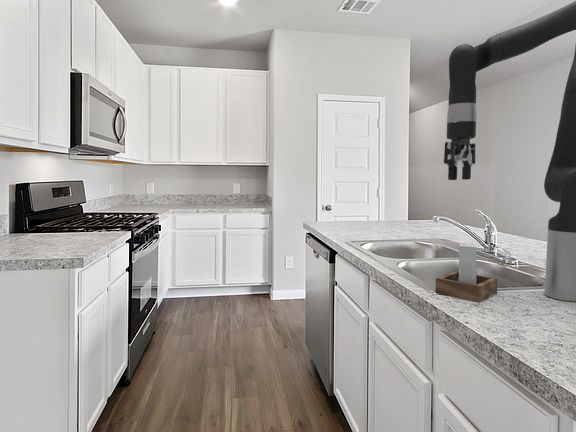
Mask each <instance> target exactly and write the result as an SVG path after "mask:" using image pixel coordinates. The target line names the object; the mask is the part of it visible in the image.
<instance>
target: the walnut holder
mask: <svg viewBox="0 0 576 432" xmlns="http://www.w3.org/2000/svg"><path fill="white" fill-rule="evenodd" d="M434 292H435V294H439V295H444V296H448V297H453V298H458V299H462V300H466V301H470V302H474V303H480V302H482V301H485V300H486V299H488V298H490V297H493V296H494V295H497V293H498V278H497V277H491V276H485V275H479V274H476V285H475V284H469V283H464V282H459V271H457V270H455V271H453V272H449V273H447V274H444V275H441V276H438V277H436V278H435V291H434Z"/></svg>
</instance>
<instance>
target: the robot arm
mask: <svg viewBox="0 0 576 432" xmlns="http://www.w3.org/2000/svg"><path fill="white" fill-rule="evenodd" d="M573 31H576V0H575V1H572V2H571V3H568V4H566V5H565V6H562V7H560V8H559V9H558V8H557V9H556V10H554V11H552V12H550V13H547V14H545V15H543V16H540V17H538V18H535V19H533V20H530V21H529V22H527V23H526V22H525V23H523V24H521V25H518V26H515V27H512V28H510V29H507V30H505V31H502V32H499V33H496V34H494V35H492V36H490V37H488V38H487V39H486V40H485V41H484V42H483V43H480V44H477V45H475V46H473V45H471V44H468V43H462V44H459V45H457V46H456V47H454V48H453V49H452V50H451V52H450V54H449V57H448V73H449V74H448V77H449V79H448V80H449V88H448V89H449V91H448V107H447V115H446V139H447V140H449V141H445V143H444V152H443V153H444V155H443V164H444V165H446V166H447V167H448V171H447V176H448V177H447V179H448V181H457V179H458V164H459V161H460V162H461V165H462V167H461V168H462V170H461V171H462V172H461V179H462V181H463V180H465V181H466V180H471V178H472V177H471V176H472V167H473V165H475V164H476V143H475V142H474V143H471V141H470V140H471V139H476V136H477V85H476V78H477V77H476V76H477V73H478V72H479V71H482V70H483V69H486V68H488V67H490V66H492V65H494V64H497V63H499V62H500V63H501V62H503V61H506V60H509V59H512V58H514V57H517V56H520V55H523V54H525V53H527V52H530V51H532V50H534V49H536V48H538V47H540V46H541V45H544V44H546V43H548V42H549V41H551V40H553V39H556V38H558V37H560V36H562V35H564V34H565V35H566V34H568V33H570V32H573ZM556 131H557V132H556V137H555V141H554V142H555V143H554V148H553V151H552V154H551V158H550V161H549V163H548V167H547V171H546V174H545V178H544V182H543V188H544V193H545V195H546V196H547V197H548V199H550V200H551V201H552V202H556V203H559V208H558V212H557V214H556V215H554V216H552V217H550V218H549V220H548V224H547V236H546V237H547V242H546V259H545V260H546V261H545V276H544V277H545V278H544V292H543V294H544V295H545V296H546V297H549V298H553V299H555V300H559V301H567V302H576V44H575V47H574V55H573V60H572V63H571V67H570V69H569V73H568V77H567V81H566V83H565V88H564V92H563V98H562V103H561V109H560V116H559V122H558V126H557V130H556ZM450 140H451V141H450Z"/></svg>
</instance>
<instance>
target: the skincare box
mask: <svg viewBox="0 0 576 432" xmlns="http://www.w3.org/2000/svg"><path fill="white" fill-rule="evenodd" d="M458 244H459V245H458V246H459V248H458V272H459V282H464V283H469V284H475V285H476V275H477V245H476V243H474V242H473V243H472V242H471V243H469V242H460V243H458Z"/></svg>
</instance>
